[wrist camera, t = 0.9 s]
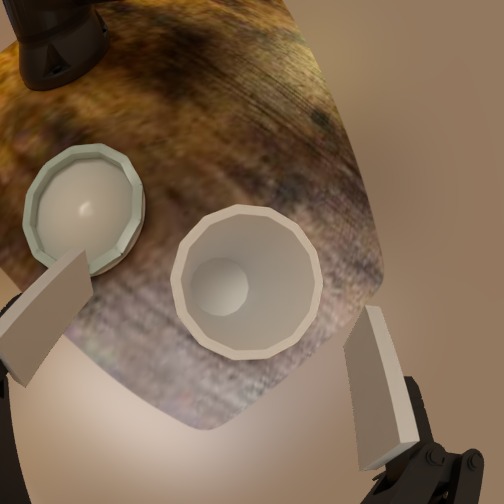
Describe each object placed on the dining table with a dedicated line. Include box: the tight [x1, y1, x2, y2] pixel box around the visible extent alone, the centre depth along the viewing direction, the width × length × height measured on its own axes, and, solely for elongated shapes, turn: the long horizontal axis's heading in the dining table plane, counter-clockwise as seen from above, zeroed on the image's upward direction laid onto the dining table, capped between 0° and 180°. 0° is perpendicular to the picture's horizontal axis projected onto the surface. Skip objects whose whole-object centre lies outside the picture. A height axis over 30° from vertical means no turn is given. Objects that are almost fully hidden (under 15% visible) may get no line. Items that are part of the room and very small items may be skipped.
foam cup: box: [170, 204, 323, 360], centre depth 23 cm, size 10×9×13 cm
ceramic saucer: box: [22, 143, 146, 277], centre depth 25 cm, size 14×14×2 cm
